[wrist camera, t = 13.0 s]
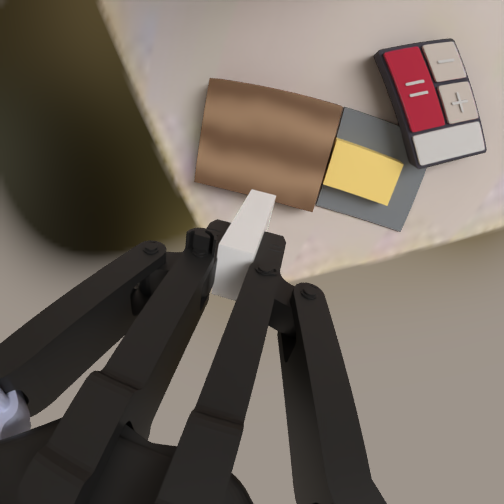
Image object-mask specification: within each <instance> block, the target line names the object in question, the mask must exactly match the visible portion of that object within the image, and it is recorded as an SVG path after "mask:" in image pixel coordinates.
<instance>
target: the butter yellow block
mask: <svg viewBox="0 0 504 504" xmlns="http://www.w3.org/2000/svg"><path fill="white" fill-rule="evenodd" d="M403 165H404V164H403V163H402V162H401V161H400V160H397V159H395V158H392V157H390V156H387V155H385V154H382V153H379V152H377V151H374V150H371V149H369V148H366V147H363V146H360V145H357V144H354V143H352V142H349V141H346V140H343V139H340V138H337V137H336V138H335V142H334V145H333V148H332V152H331V155H330V158H329V161H328V165H327V168H326V171H325V174H324V177H323V184H324V185H327V186H330V187H333V188H337V189H340V190H343V191H346V192H349V193H352V194H355V195H358V196H361V197H364V198H366V199H369V200H372V201H375V202H378V203H380V204H383V205H386V206H387V205H388V203H389V201H390V198H391V196H392V193H393V191H394V188H395V186H396V183H397V181H398V178H399V175H400V173H401V170H402V167H403Z"/></svg>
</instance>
